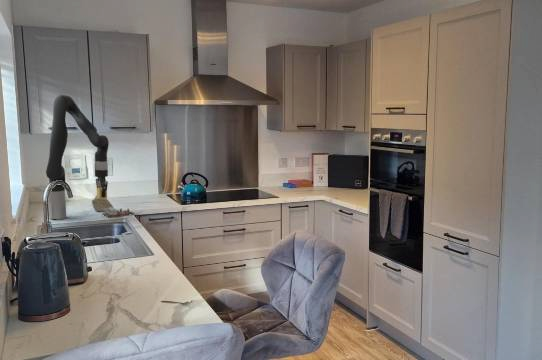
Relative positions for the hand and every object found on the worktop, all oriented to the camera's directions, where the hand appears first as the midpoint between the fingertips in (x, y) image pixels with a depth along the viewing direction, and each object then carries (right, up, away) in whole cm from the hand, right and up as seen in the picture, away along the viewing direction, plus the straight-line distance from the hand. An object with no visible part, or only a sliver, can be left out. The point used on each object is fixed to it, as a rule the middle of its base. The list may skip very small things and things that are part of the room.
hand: (102, 196), depth 304 cm
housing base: (+6, -12, +13) cm, 19 cm away
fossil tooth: (-8, -11, +25) cm, 28 cm away
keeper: (+2, -11, +10) cm, 15 cm away
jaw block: (0, -1, 0) cm, 1 cm away
